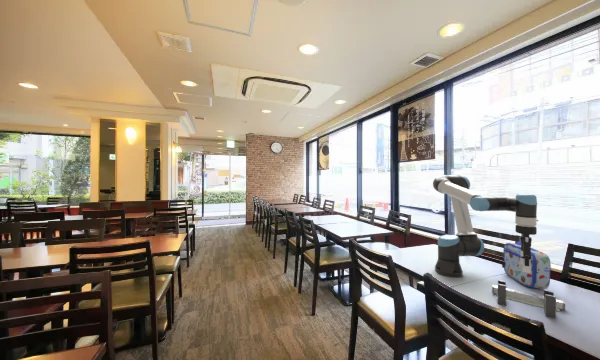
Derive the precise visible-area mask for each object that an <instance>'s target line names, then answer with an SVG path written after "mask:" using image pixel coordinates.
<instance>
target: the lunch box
mask: <svg viewBox="0 0 600 360" xmlns="http://www.w3.org/2000/svg"><path fill="white" fill-rule="evenodd" d="M550 259H551V258H550V257H549V256H548V254H546V253H545V252H543V251H540V250H538V249H535V248H533V247H531V273H526V272H523V264H521V241H515V243H514V242H506V243H504V245H503V261H502V263H501V267H502V268H503V269H504V270H503V271H504V272H505V274H506V275H507V276H508V277H510V278H511V279H513V280H515V281H516V282H517V283H519V284H522V285H523V286H524V287H528V288H534V289H543V290H547V289H548V288H549V287H550V284H551V283H550V282H551V267H552V265H551V264H552V263H551V260H550Z"/></svg>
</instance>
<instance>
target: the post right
mask: <svg viewBox="0 0 600 360" xmlns="http://www.w3.org/2000/svg"><path fill="white" fill-rule="evenodd" d="M543 296H544V308H543V312H544V315H545V317H547V318H550V319H554V320H556V319H557V318H556V316H557V314H556V313H557V311H556V299H557V297H556V295H555V294H554V291H552V290H547V289H543Z"/></svg>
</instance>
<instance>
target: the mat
mask: <svg viewBox="0 0 600 360" xmlns="http://www.w3.org/2000/svg"><path fill="white" fill-rule="evenodd" d="M496 297H498V294H496ZM506 300H510V301H516V302H519V303H523V304H527V305H532V306H536V307H540V308H543V309H544V305H542V304H538V303H533V302H529V301H525V300H521V299H517V298H513V297H509V296H506ZM556 312H561V309H558V308H556Z"/></svg>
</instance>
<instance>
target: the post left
mask: <svg viewBox="0 0 600 360" xmlns="http://www.w3.org/2000/svg"><path fill="white" fill-rule="evenodd" d="M497 286H498V296H497V304H498V305H501V306H505V307H506V306H507V298H506V288H507V281H505V280H500V279H497Z"/></svg>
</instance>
